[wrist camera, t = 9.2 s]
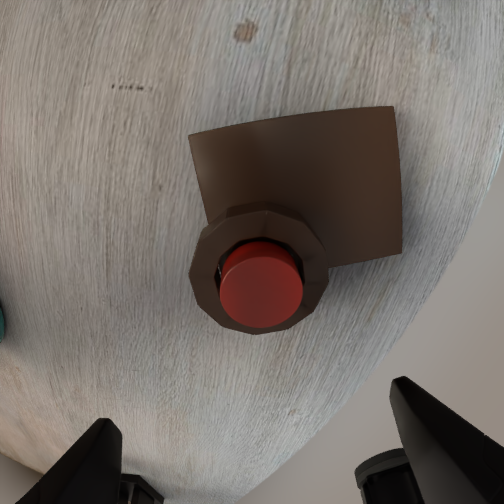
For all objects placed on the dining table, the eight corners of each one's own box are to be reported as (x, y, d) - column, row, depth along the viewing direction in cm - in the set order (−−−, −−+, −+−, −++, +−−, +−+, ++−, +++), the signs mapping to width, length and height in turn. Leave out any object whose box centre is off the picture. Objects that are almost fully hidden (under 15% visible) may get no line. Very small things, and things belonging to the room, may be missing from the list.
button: (292, 234, 14) (298, 249, 13) (301, 300, 16) (307, 320, 14) (214, 248, 15) (210, 265, 13) (230, 312, 16) (229, 333, 14)
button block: (382, 106, 14) (409, 106, 12) (392, 276, 18) (412, 301, 16) (168, 140, 15) (152, 145, 12) (214, 310, 19) (209, 342, 16)
